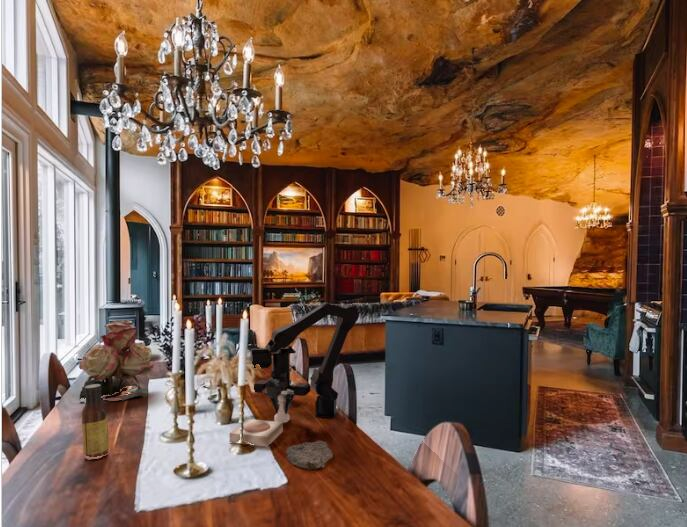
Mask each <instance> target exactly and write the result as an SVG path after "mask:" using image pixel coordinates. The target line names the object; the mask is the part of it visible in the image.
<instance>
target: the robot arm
mask: <svg viewBox="0 0 687 527" xmlns="http://www.w3.org/2000/svg"><path fill="white" fill-rule="evenodd" d="M327 316H333V317H336V321H335V323H336V324H335V329H334V332H333V335H332V336H331V340H330V342H329V346H328V348H327V351H326V353H325V355H324V359H323V361H322V363H321V365H320V367H318V369H317V368H313V370H312V375H311V376H310V377H309V380H310V383H308V382H298V383H297V384H296V385H290V384H291V381H292V380H291V372H292V368H291V359H290V358H291V357H290V356H291V354H296V353H297V352H296V350H295V349H293V347H292V345H291V344H292V343H293V342H294V341H295V340H296V339H297V337H298V336H299V335H300V334H301V333H303V332H304V331H305V330H308V329H309V328H310V327H312V326H314V325H315V324H316V323H318V322H319V321H321V320H323V319H324V318H325V317H327ZM359 317H360V312H359V309H358V308H357V307H355V306H353V305H349V304H343V305H336V304H331V303H329V302H325V301H324V302H322V303H320V304H319V305H318V306H317V307H315V308H313V309H312V310H311V311H310V312H307V313H306V314H304V315H302V316H301V317H300V318H298V319H297V320H294V322H292V323H289V324H286V325H283V326H280V327H278V328H276V329H274V330H273V331H272V332H271V337H270V339H269V341H268V343H267V344H266V345H265V347H264V348H262V347H261V348H255V347H254V348H250V355H249V359H248V360H249V363H250V362H251V363H252V364H253V365H254V368H256V367H255V365H256V364H259V365H260V367H261V369H260V370H263V369H264V370H265V369H269V367H271V366H272V371H271V373H270V378H269V379H268V380H264V379H259V380H258V381H256V382H255V383H254V384H253V385H254V390H255V392H254V393H259V394H261V393H262V392H264V390H265V393H264V395H265V396H267V397H268V398H270V401H271V403H272V405H273V408H274V411H275V413H276V414H277V413H278V410H279V405H280V404H278V402H279V401H278V395H280V394H281V392H282V391H287V394H286V395H285V399H286V402H285V404H284V408H285V414H287V413H288V414H289V410H290V408H291V405H292V402H293V400H294V398H295V396H298V397H304V396H307V395H308V394H309V393H310V392H311V389H312V390H313V391H314V392H316V395H317V397H316V400H315V404H314V405H315V406H314V409H315V417H316V418H317V417H318V418H327V419H328V418H330V419H331V418H335V416H336V415H337V414H338V412H339V410H338V409H337V400H338V396H339V392H337V390H335V389H334V388H333V383H334V371H335V368H336V366H337V363H338V360H339V357H340V355H341V352H342V350H343V347H344V344H345V341H346V339H347V337H348V333H349V332H350V331H351V330H352V328H353V327H355V325H356V323H357V322H358V320H359Z"/></svg>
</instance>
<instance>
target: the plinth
mask: <svg viewBox="0 0 687 527" xmlns="http://www.w3.org/2000/svg"><path fill="white" fill-rule="evenodd" d="M283 432H284V423H283V422H276V421H275V420H263V419H252V418H250V419H249V418H247V419H246V420H245V421H244V439H245V441H247V442H249V443H251V444H254V445H258V446H257V447H261V446H265V447H264V448H268V447H269V446H270V445H271V444H272V443H273V442H274V441H275V440H276V439H277V438H278V437H279V436H280V435H281V434H282V433H283ZM239 440H240V425H238V426H236V427H235V428H234V429H233V430H232V431H230V432H229V443H230V442H232V443H231V444H233V443H236V442H238V441H239ZM269 444H270V445H269ZM268 445H269V446H268ZM267 446H268V447H267Z"/></svg>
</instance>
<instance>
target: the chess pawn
mask: <svg viewBox="0 0 687 527" xmlns="http://www.w3.org/2000/svg"><path fill="white" fill-rule="evenodd" d="M285 400H286V399H285V395H284V394H280V395H278V401H279V402H278V404H279V410H278V413H276V414H275V415H274V421H276V422H283V424H285V423H288V422H289V421H290V414H289V412H288V413H287V414H285Z"/></svg>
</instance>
